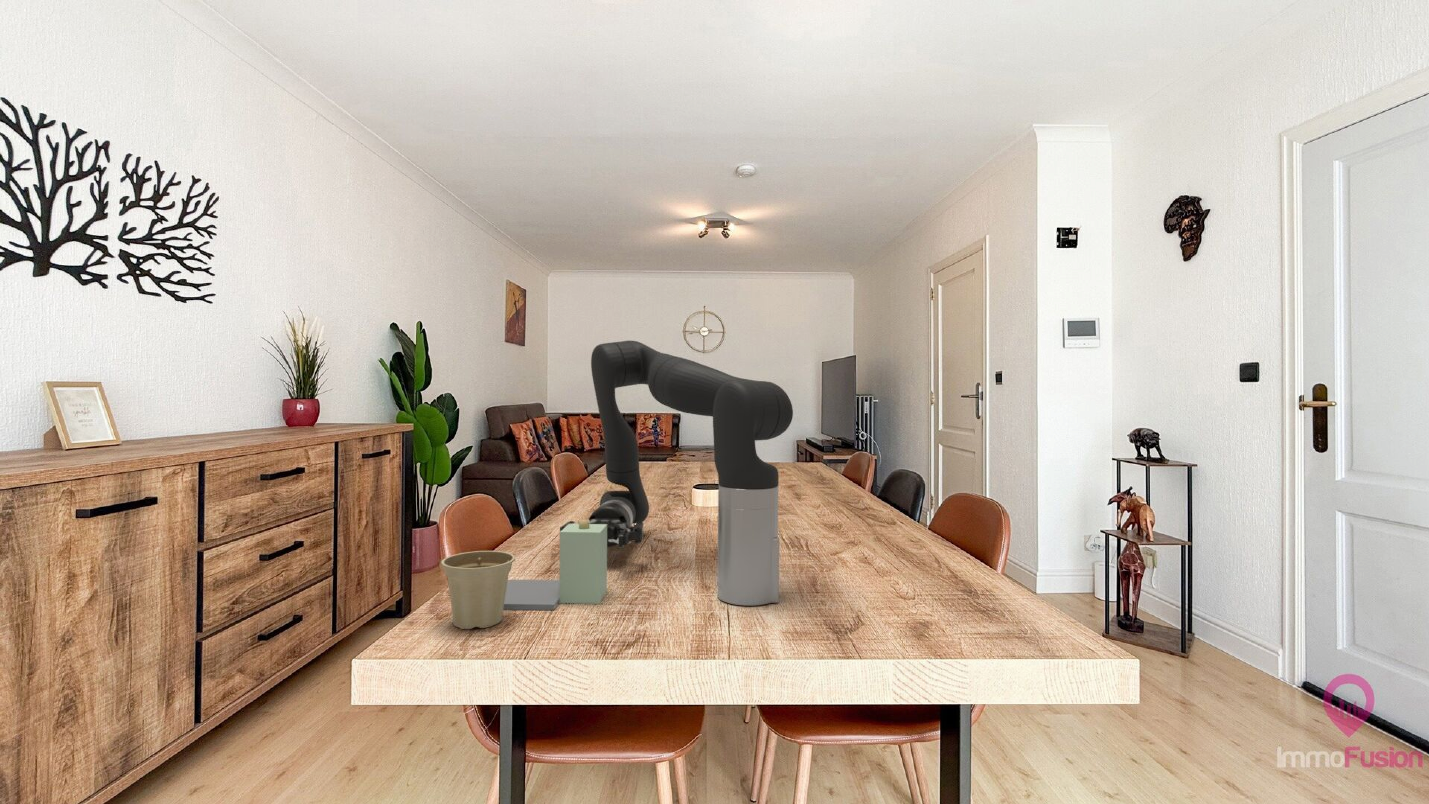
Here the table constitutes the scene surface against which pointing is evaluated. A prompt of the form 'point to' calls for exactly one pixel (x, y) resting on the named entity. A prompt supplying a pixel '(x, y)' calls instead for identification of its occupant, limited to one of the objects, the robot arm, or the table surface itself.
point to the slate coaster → (531, 595)
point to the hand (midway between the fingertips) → (595, 541)
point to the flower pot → (477, 586)
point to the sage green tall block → (583, 563)
